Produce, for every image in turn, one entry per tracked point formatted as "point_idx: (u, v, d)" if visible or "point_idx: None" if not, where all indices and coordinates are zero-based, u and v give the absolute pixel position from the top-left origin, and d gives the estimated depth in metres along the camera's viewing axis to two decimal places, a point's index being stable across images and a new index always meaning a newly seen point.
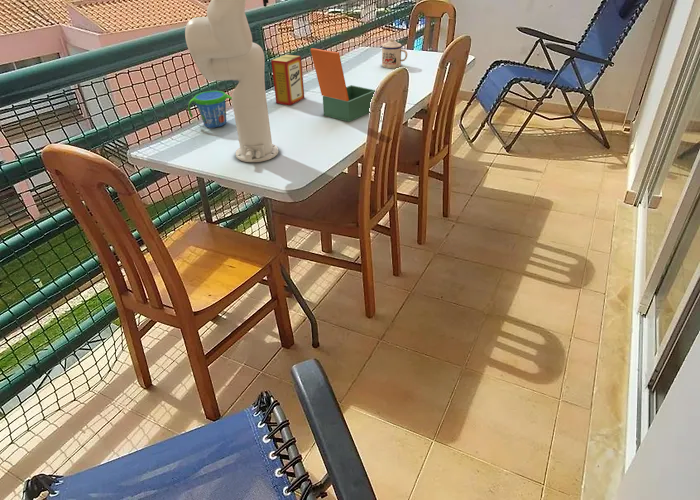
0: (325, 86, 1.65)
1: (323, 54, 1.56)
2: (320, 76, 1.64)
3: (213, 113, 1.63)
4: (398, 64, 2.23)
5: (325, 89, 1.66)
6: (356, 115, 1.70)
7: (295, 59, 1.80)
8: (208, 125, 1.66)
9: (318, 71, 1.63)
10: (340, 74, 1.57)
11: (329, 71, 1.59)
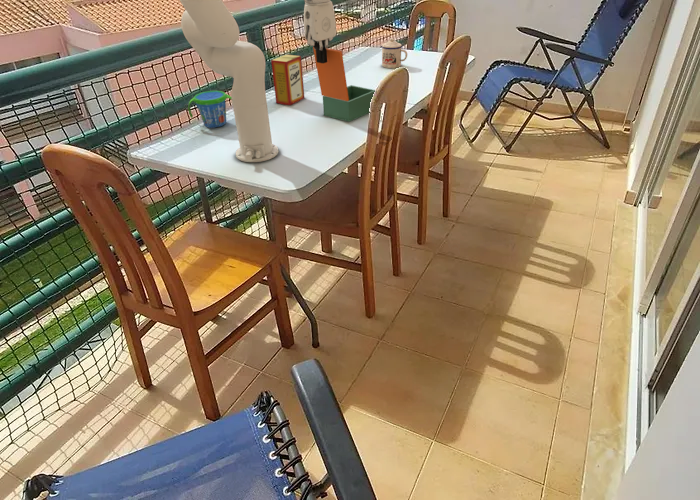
0: (326, 85, 1.65)
1: None
2: (321, 75, 1.64)
3: (213, 113, 1.63)
4: (398, 64, 2.23)
5: (326, 89, 1.66)
6: (356, 115, 1.70)
7: (295, 59, 1.80)
8: (208, 125, 1.66)
9: (319, 70, 1.63)
10: (342, 73, 1.57)
11: (331, 70, 1.60)
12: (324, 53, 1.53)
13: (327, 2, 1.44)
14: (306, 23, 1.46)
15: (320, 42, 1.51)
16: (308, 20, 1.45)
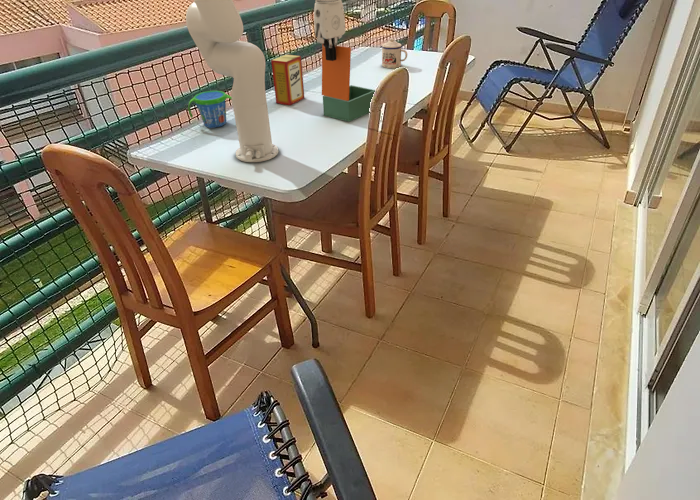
0: (328, 84, 1.66)
1: None
2: (325, 73, 1.65)
3: (213, 113, 1.63)
4: (398, 64, 2.23)
5: (327, 88, 1.67)
6: (356, 115, 1.70)
7: (295, 59, 1.80)
8: (208, 125, 1.66)
9: (324, 68, 1.64)
10: (347, 70, 1.59)
11: (336, 67, 1.61)
12: (333, 51, 1.56)
13: (337, 1, 1.47)
14: (316, 21, 1.49)
15: (330, 40, 1.54)
16: (318, 18, 1.48)
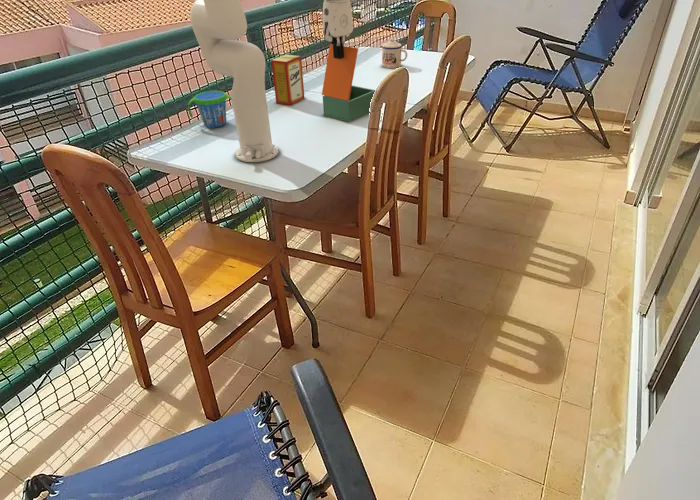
0: (329, 84, 1.67)
1: None
2: (328, 73, 1.66)
3: (213, 113, 1.63)
4: (398, 64, 2.23)
5: (328, 88, 1.67)
6: (356, 115, 1.70)
7: (295, 59, 1.80)
8: (208, 125, 1.66)
9: (328, 67, 1.66)
10: (351, 70, 1.60)
11: (340, 67, 1.63)
12: (341, 49, 1.59)
13: None
14: (325, 19, 1.52)
15: (338, 38, 1.56)
16: (327, 17, 1.51)
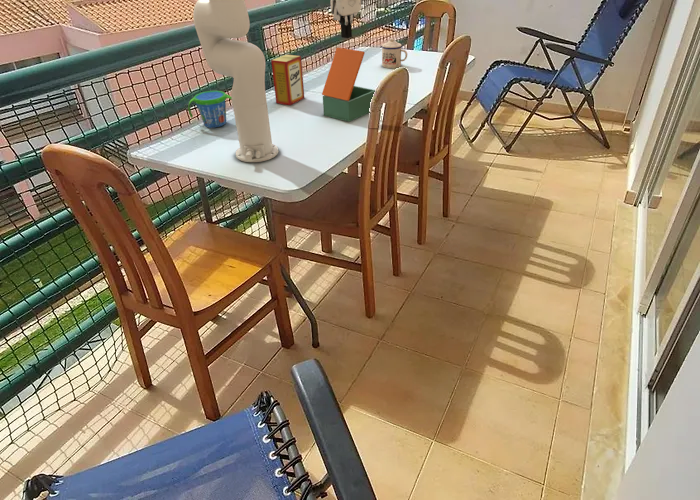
0: (331, 84, 1.67)
1: (348, 52, 1.64)
2: (331, 74, 1.68)
3: (213, 113, 1.63)
4: (398, 64, 2.23)
5: (329, 88, 1.68)
6: (356, 115, 1.70)
7: (295, 59, 1.80)
8: (208, 125, 1.66)
9: (332, 69, 1.68)
10: (355, 71, 1.62)
11: (344, 69, 1.65)
12: (349, 28, 1.58)
13: None
14: None
15: (345, 17, 1.56)
16: None
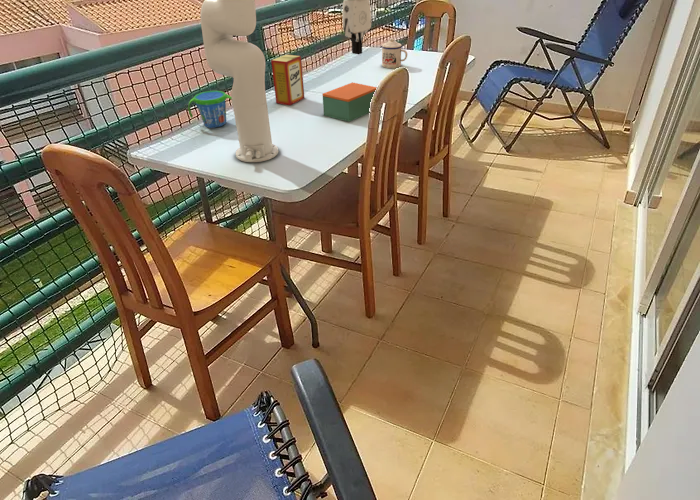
0: (336, 92, 1.70)
1: (362, 85, 1.76)
2: (339, 89, 1.73)
3: (213, 113, 1.63)
4: (398, 64, 2.23)
5: (333, 93, 1.70)
6: (356, 115, 1.70)
7: (295, 59, 1.80)
8: (208, 125, 1.66)
9: (341, 87, 1.75)
10: (364, 92, 1.69)
11: (354, 89, 1.72)
12: (360, 45, 1.65)
13: None
14: (345, 16, 1.58)
15: (356, 34, 1.62)
16: (347, 14, 1.57)
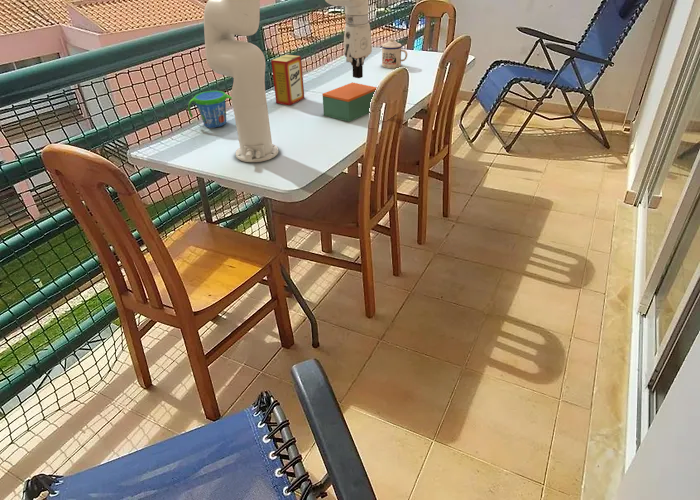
0: (336, 92, 1.70)
1: (362, 85, 1.76)
2: (339, 89, 1.73)
3: (213, 113, 1.63)
4: (398, 64, 2.23)
5: (333, 93, 1.70)
6: (356, 115, 1.70)
7: (295, 59, 1.80)
8: (208, 125, 1.66)
9: (341, 87, 1.75)
10: (364, 92, 1.69)
11: (354, 89, 1.72)
12: (360, 69, 1.70)
13: (366, 24, 1.61)
14: (346, 42, 1.62)
15: (357, 59, 1.67)
16: (348, 39, 1.62)
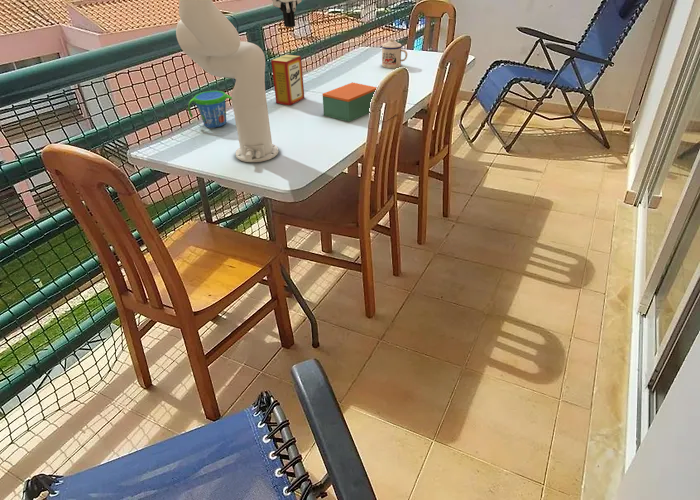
0: (336, 92, 1.70)
1: (362, 85, 1.76)
2: (339, 89, 1.73)
3: (213, 113, 1.63)
4: (398, 64, 2.23)
5: (333, 93, 1.70)
6: (356, 115, 1.70)
7: (295, 59, 1.80)
8: (208, 125, 1.66)
9: (341, 87, 1.75)
10: (364, 92, 1.69)
11: (354, 89, 1.72)
12: (291, 16, 1.46)
13: None
14: None
15: (287, 4, 1.43)
16: None
